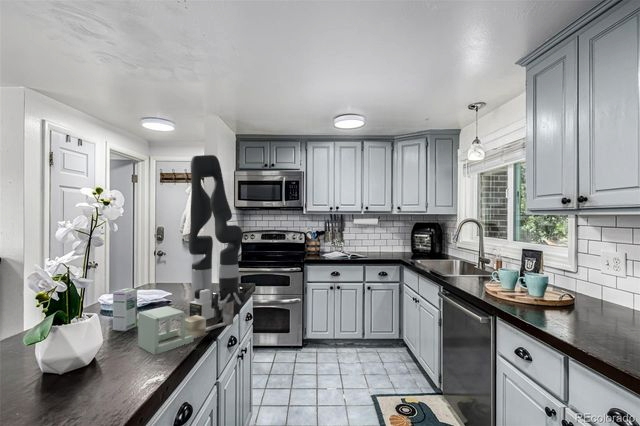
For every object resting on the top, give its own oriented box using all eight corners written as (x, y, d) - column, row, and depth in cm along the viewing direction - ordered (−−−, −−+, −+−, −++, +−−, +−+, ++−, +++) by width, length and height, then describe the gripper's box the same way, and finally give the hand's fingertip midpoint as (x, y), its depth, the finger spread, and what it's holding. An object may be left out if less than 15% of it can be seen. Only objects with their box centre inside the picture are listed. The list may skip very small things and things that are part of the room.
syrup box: (125, 331, 118) (126, 292, 119) (112, 330, 120) (112, 291, 120) (137, 326, 124) (137, 288, 124) (124, 325, 125) (124, 287, 125)
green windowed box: (176, 334, 116) (176, 303, 116) (193, 341, 109) (193, 309, 109) (138, 345, 105) (138, 312, 105) (154, 354, 99) (154, 319, 99)
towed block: (226, 321, 130) (226, 299, 130) (235, 324, 126) (236, 302, 127) (181, 335, 115) (181, 310, 115) (190, 339, 111) (190, 313, 111)
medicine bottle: (189, 319, 133) (189, 290, 133) (202, 314, 139) (203, 286, 140) (201, 321, 130) (201, 292, 130) (214, 317, 136) (215, 288, 136)
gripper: (237, 272, 135) (236, 310, 135) (207, 276, 124) (207, 319, 124) (249, 274, 131) (248, 313, 131) (219, 279, 119) (218, 323, 119)
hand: (228, 316), depth 127 cm, fingers open, 8 cm apart
